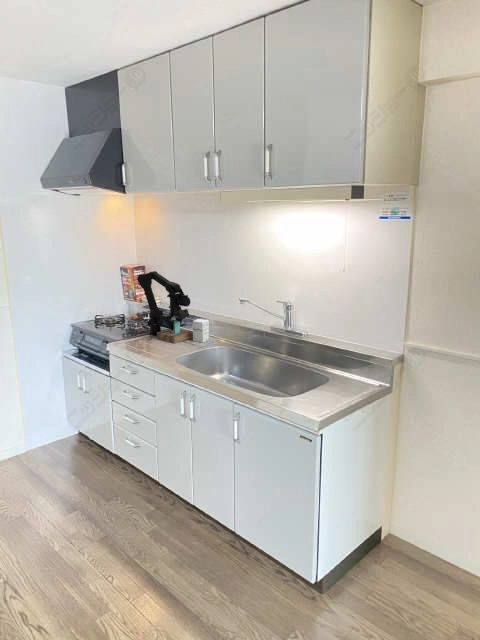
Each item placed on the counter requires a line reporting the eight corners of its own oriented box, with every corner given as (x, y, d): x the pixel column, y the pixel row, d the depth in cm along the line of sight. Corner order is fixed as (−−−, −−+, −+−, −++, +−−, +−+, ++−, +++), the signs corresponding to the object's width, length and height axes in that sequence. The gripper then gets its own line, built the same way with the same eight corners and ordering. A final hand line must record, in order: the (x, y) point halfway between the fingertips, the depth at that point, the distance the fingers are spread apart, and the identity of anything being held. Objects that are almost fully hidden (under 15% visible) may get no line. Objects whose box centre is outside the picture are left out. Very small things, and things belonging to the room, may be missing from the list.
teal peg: (171, 337, 295) (170, 321, 292) (175, 336, 298) (175, 320, 295) (175, 338, 292) (174, 322, 290) (180, 337, 295) (179, 321, 293)
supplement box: (192, 341, 289) (192, 320, 286) (199, 338, 296) (198, 318, 293) (202, 342, 286) (202, 322, 283) (209, 339, 292) (209, 319, 289)
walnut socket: (157, 338, 294) (157, 332, 294) (176, 333, 306) (176, 327, 305) (174, 343, 284) (174, 337, 283) (194, 338, 296) (194, 331, 295)
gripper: (171, 308, 278) (172, 334, 282) (195, 304, 292) (195, 328, 296) (159, 306, 285) (160, 331, 289) (182, 301, 299) (183, 326, 303)
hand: (175, 329), depth 294 cm, fingers open, 5 cm apart
